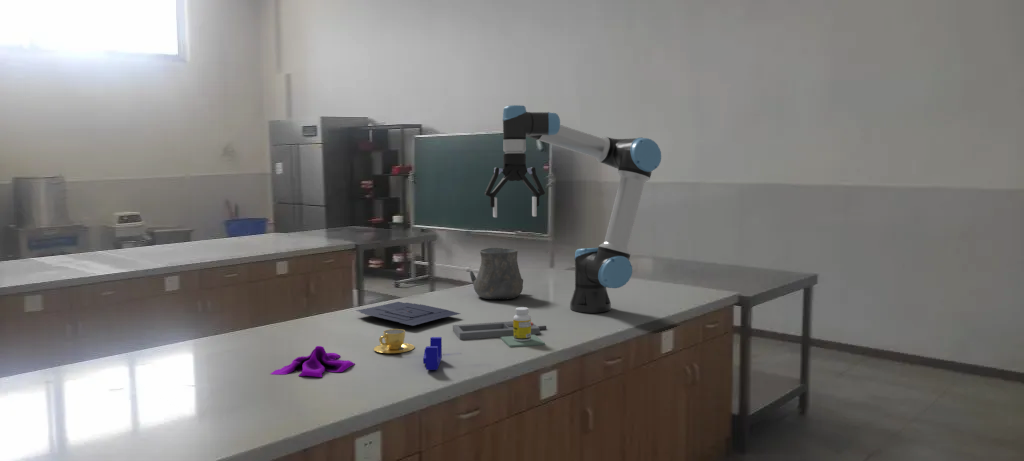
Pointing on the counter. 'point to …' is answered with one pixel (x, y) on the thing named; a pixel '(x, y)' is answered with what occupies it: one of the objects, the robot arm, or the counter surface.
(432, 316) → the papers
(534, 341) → the rubber mat
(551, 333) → the counter surface
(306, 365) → the cloth
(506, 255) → the vessel
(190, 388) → the counter surface
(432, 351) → the cable clip
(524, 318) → the supplement bottle
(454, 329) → the rectangular frame
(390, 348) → the cup
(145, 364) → the counter surface
